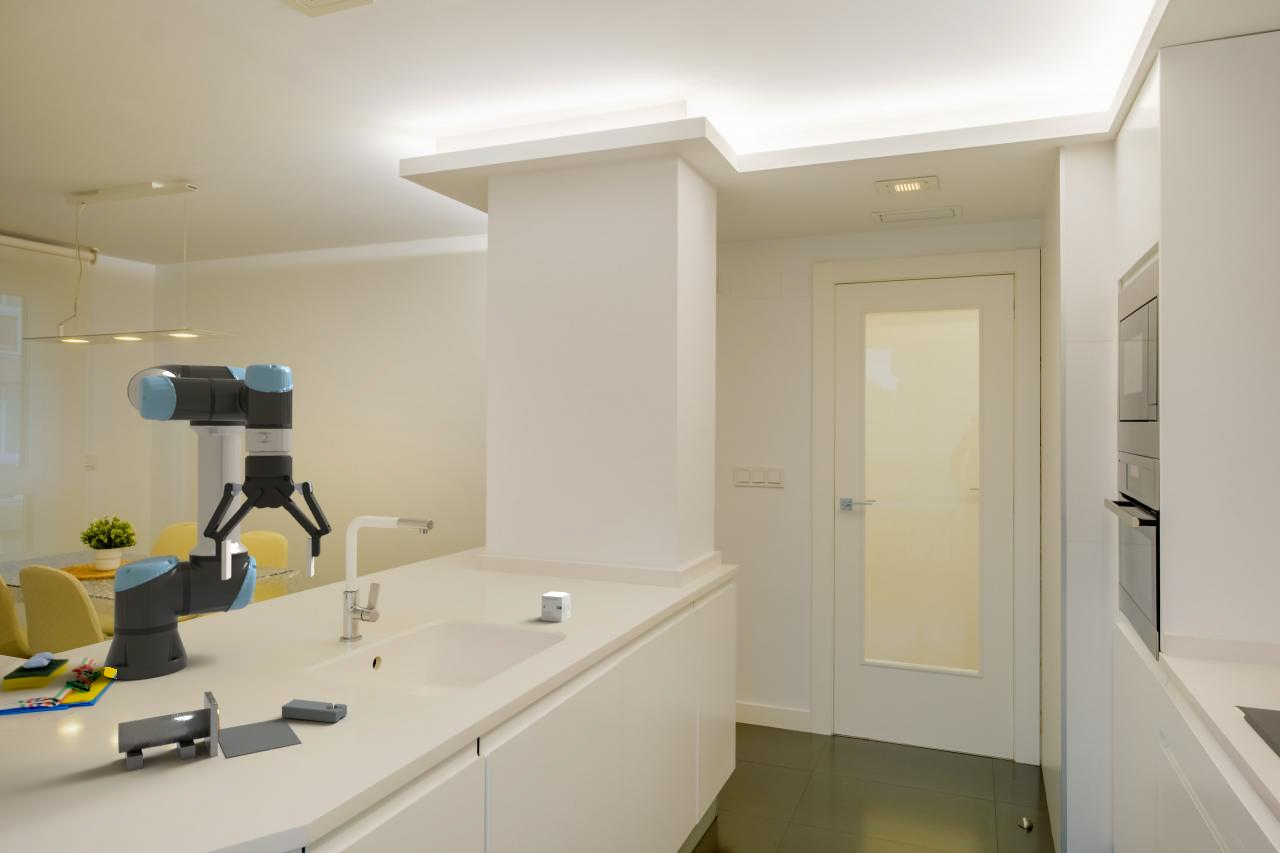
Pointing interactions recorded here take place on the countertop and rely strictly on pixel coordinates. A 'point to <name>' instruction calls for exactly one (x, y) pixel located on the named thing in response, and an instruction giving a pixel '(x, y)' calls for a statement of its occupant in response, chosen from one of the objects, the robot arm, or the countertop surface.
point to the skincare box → (556, 606)
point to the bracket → (314, 710)
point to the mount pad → (256, 737)
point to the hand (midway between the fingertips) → (268, 577)
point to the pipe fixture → (171, 733)
